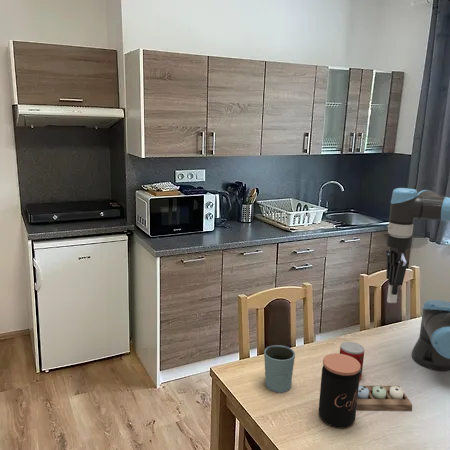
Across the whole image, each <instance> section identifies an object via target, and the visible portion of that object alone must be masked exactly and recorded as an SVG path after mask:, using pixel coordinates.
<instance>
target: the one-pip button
mask: <svg viewBox="0 0 450 450" xmlns="http://www.w3.org/2000/svg"><path fill="white" fill-rule="evenodd" d="M391 386H392V387H390V393H389V396H390V397H391V399H403V392H404V389H403V388H402V387H397V386H398V385H391ZM404 393H405V392H404Z"/></svg>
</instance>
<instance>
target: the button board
mask: <svg viewBox="0 0 450 450" xmlns="http://www.w3.org/2000/svg"><path fill="white" fill-rule="evenodd" d="M359 386H366V387H367V388H368V389H369V395H368V399H357V407H356V411H403V412H404V411H405V412H407V411H412V410H413V403H412V402H411V401H410V399H409V398H408V396H407V395H406V394H405V392H403V399H391V397H390V396H389V393H390V387H392V386H393V385H380V386H381V387H383V388H385V389H386V398H385V399H374V398H373V396H372V392H373V387H374V386H375V385H365V384H363V385H360V384H359ZM396 386H397V387H400V385H396ZM400 388H401V387H400Z"/></svg>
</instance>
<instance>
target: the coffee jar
mask: <svg viewBox="0 0 450 450" xmlns="http://www.w3.org/2000/svg"><path fill="white" fill-rule="evenodd" d="M322 364H323V365H322V369H321V376H320V377H321V378H320V389H319V401H318V402H319V403H318V414H319V417H320V418H321V419H322V421H323V422H324V423H325V424H327V425H328V426H331V427H333V428H338V429H339V428H340V429H341V428H347V427H350V426H352V425H353V423H355V421H356V414H357V410H356V407H357V397H358V388H359V385H360V380H361V379H360V372H359V371H360V367H361V365H360V363H359V362H358V361H357V360H356V359H355V358H353V357H351V356H348V355H344V354H340V353H330V354H327V355H325V356H324V357H323V359H322ZM359 379H360V380H359Z"/></svg>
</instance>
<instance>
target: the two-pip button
mask: <svg viewBox="0 0 450 450" xmlns="http://www.w3.org/2000/svg"><path fill="white" fill-rule="evenodd" d="M373 386H374V387H373V392H372V396H373V398H374V399H385V398H386V389H385V388H383V387H381V386H382V385H373Z"/></svg>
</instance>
